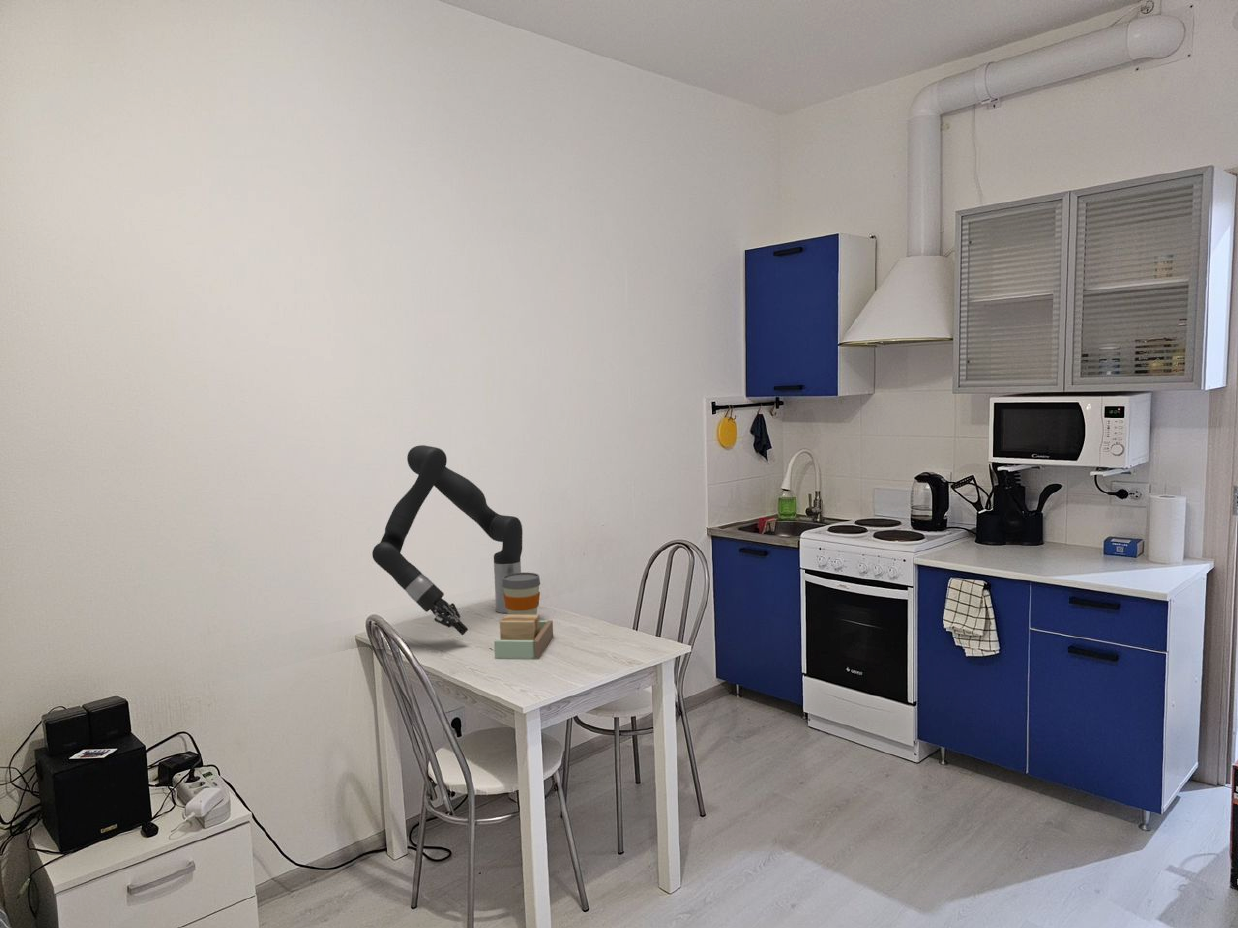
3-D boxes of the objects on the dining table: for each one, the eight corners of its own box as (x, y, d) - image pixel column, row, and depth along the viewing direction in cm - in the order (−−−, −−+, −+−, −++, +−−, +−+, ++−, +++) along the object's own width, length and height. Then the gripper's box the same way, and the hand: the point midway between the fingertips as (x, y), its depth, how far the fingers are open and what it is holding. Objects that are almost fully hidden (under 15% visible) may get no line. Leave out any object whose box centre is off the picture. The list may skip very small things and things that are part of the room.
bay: (513, 635, 255) (512, 620, 255) (553, 636, 253) (552, 620, 253) (494, 658, 234) (494, 641, 234) (538, 658, 233) (537, 641, 232)
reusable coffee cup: (501, 617, 276) (499, 574, 274) (538, 614, 279) (536, 571, 278) (506, 627, 264) (504, 582, 262) (544, 623, 267) (543, 579, 266)
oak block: (508, 643, 248) (506, 614, 247) (540, 643, 247) (539, 614, 246) (501, 651, 240) (499, 621, 239) (534, 652, 239) (533, 622, 238)
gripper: (424, 589, 239) (467, 630, 239) (439, 578, 252) (480, 617, 252) (408, 606, 240) (450, 647, 240) (424, 595, 253) (464, 634, 253)
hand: (465, 632), depth 246 cm, fingers closed
